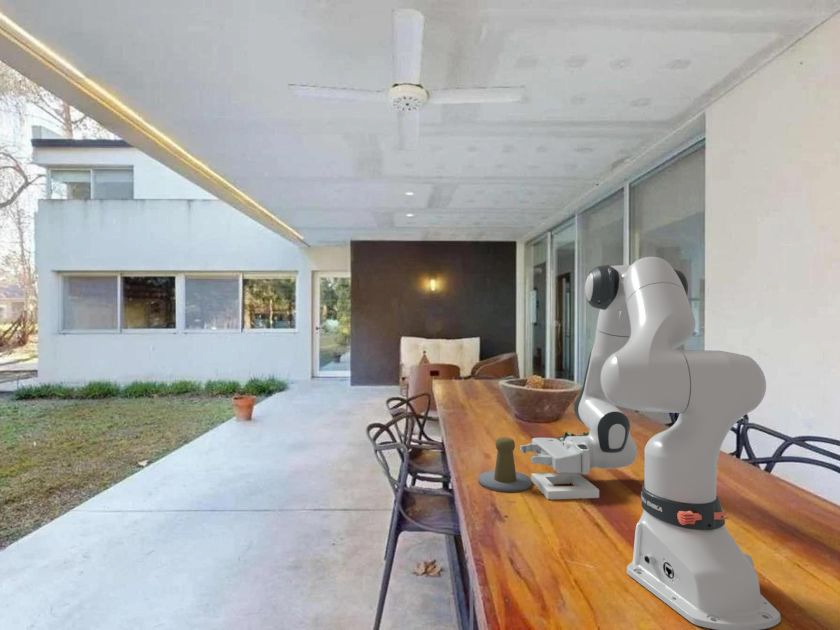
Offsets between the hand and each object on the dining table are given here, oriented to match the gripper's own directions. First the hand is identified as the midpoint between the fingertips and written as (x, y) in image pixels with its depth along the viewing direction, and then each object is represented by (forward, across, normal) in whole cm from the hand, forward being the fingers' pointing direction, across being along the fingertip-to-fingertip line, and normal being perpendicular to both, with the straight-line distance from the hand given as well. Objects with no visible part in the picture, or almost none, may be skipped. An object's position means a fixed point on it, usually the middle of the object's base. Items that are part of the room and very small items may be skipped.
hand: (525, 454), depth 126 cm
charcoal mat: (+6, 0, +8) cm, 10 cm away
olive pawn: (+6, 0, +7) cm, 9 cm away
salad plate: (-32, -34, +8) cm, 48 cm away
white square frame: (-8, +6, +8) cm, 13 cm away
